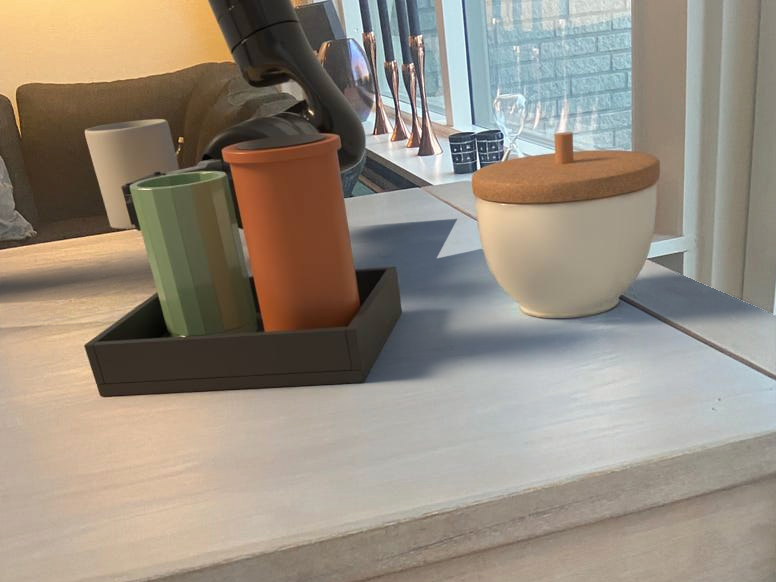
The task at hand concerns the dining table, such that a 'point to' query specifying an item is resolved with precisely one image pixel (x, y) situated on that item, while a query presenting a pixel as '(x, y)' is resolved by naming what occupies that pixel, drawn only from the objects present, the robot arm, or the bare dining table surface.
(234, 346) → the dark shallow tray
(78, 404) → the dining table surface
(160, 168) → the mug
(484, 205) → the lidded bowl
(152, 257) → the cup
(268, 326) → the pot
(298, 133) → the robot arm
